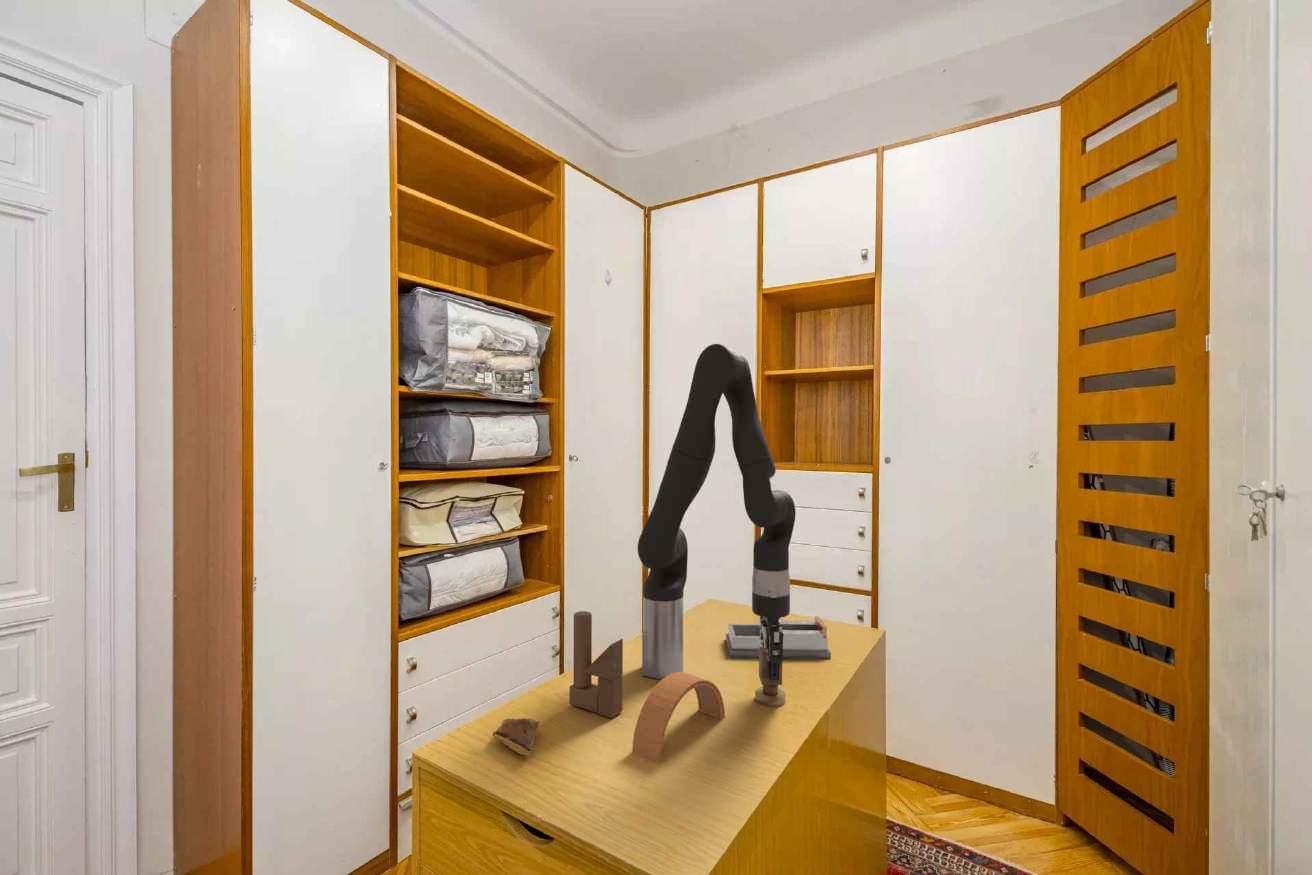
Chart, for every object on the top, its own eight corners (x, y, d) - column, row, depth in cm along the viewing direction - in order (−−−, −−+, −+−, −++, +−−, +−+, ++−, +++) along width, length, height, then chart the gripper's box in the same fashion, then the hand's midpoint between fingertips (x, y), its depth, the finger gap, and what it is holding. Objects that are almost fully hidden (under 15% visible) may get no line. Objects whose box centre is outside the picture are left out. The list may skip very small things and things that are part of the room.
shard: (530, 759, 95) (530, 748, 95) (483, 761, 94) (482, 750, 94) (540, 727, 106) (540, 717, 106) (498, 728, 105) (498, 718, 105)
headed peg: (757, 706, 114) (757, 656, 114) (753, 693, 120) (753, 645, 120) (788, 707, 114) (788, 656, 114) (782, 693, 120) (782, 645, 120)
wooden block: (611, 719, 109) (612, 624, 109) (568, 704, 115) (568, 614, 115) (623, 711, 112) (623, 618, 112) (580, 697, 118) (581, 609, 118)
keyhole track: (730, 657, 139) (730, 628, 139) (725, 639, 151) (725, 612, 151) (830, 658, 139) (830, 629, 139) (818, 640, 151) (818, 613, 151)
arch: (725, 718, 110) (725, 666, 110) (657, 764, 95) (657, 703, 95) (700, 708, 114) (701, 658, 114) (631, 751, 99) (631, 692, 98)
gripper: (747, 580, 124) (747, 658, 125) (757, 599, 110) (757, 687, 110) (782, 580, 124) (782, 658, 124) (797, 600, 110) (796, 688, 110)
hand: (770, 671), depth 117 cm, fingers open, 6 cm apart
